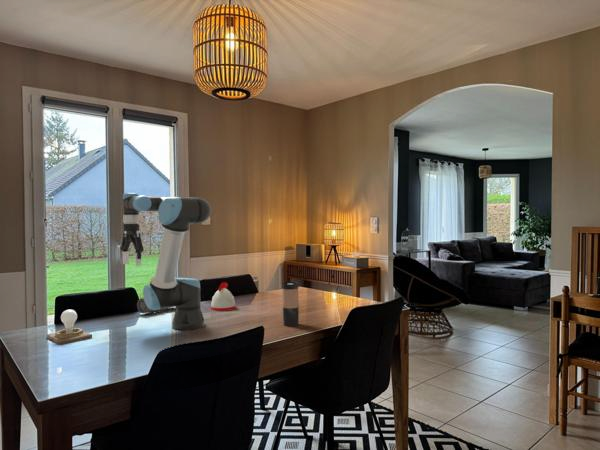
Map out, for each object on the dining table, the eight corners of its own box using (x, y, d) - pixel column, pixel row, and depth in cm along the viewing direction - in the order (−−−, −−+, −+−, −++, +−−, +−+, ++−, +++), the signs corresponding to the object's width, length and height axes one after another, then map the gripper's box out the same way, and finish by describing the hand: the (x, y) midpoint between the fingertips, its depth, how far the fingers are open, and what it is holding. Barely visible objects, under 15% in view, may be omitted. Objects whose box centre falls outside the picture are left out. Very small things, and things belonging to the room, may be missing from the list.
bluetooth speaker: (147, 316, 227) (147, 297, 227) (136, 314, 232) (136, 296, 231) (180, 308, 246) (180, 291, 246) (169, 307, 251) (169, 290, 251)
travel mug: (301, 323, 206) (300, 282, 206) (295, 327, 199) (295, 284, 199) (286, 322, 209) (285, 281, 208) (280, 326, 202) (280, 284, 201)
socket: (92, 337, 186) (92, 331, 186) (59, 344, 176) (59, 337, 176) (78, 331, 197) (78, 325, 197) (46, 337, 187) (46, 331, 187)
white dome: (240, 307, 247) (239, 281, 247) (225, 311, 235) (225, 285, 235) (221, 305, 254) (220, 280, 254) (205, 309, 242) (205, 283, 242)
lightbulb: (65, 332, 189) (64, 308, 189) (80, 332, 190) (79, 307, 190) (58, 336, 183) (57, 311, 183) (73, 336, 184) (73, 310, 183)
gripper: (150, 223, 211) (151, 265, 211) (127, 223, 228) (127, 262, 228) (135, 223, 205) (136, 266, 206) (113, 223, 222) (114, 263, 223)
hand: (132, 264), depth 217 cm, fingers open, 13 cm apart
